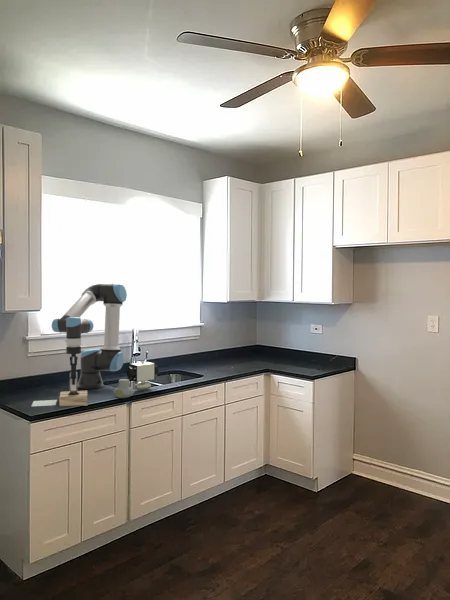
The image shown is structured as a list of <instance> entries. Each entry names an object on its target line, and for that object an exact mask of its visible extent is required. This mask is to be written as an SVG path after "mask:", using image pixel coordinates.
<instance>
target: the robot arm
mask: <svg viewBox="0 0 450 600" xmlns="http://www.w3.org/2000/svg"><path fill="white" fill-rule="evenodd" d="M127 297H128V296H127V289H126V286H125V285H124V284H123V283H121V282H97V283H94V284H92V285H90V286H89V287H88V288H86V289H85V290H84V291H83V292H82V293H81V296H80V297H79V298H78V300H77V301H75V302H74V304H73V305H72V306H71V307H70V308H69V309H68V310H67V311H66V312H65V313H64V314H63V315H62V316H61V318H55V319H53V320H52V322H51V329H52V331H53V332H55V333H59V334H60V333H66V334H65V335H66V336H65V337H66V339H64V341H65V342H66V343H65V345H66V346H65V350H66V351H65V353H66V354H67V355H70V356H69V364H70V372H71V378H70V377H69V380H70V379H71V391H76V372H77V366H78V356H77V355H78V354H80V357H79V359H80V376H79V379H78V380H77V388H78V389H79V388H80V389H87V390H88V389H98V388H99V389H100V388H102V387H104V382H103V379H102V375H101V371H107V372H108V371H109V372H117V371H119V370H121V369H122V367H123V365H124V363H125V355H124V352H122V349H121V347H120V346H119V343H120V342H119V341H120V339H119V338H120V337H119V335H120V319H121V318H120V316H121V315H120V314H121V313H120V311H121V307H122V306H123V305H124V304H123V303H124V302H126V300H127ZM97 302H103V305H104V308H105V315H104V319H105V320H104V335H103V337H104V338H103V339H104V340H103V346H102V347H101V349H100V348H91V349H85V350H82V347H81V346H82V334H88V333H91V332H92V331H93V329H94V323H93V321H92V320H90V319H88V318H86V319H85V318H84V319H82V318H81V316H83V314H84V313H85V312H86V311H87V310H89V308H90V307H91V306H93V305H94V304H96V303H97ZM77 377H78V374H77Z"/></svg>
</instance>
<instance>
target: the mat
mask: <svg viewBox="0 0 450 600" xmlns="http://www.w3.org/2000/svg"><path fill="white" fill-rule="evenodd" d="M57 402H58V399H50V400H49V399H48V400H33V402H32V404H31V406H30V407H47V406H56V405H57Z"/></svg>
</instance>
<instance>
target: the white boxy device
mask: <svg viewBox="0 0 450 600" xmlns="http://www.w3.org/2000/svg"><path fill="white" fill-rule="evenodd" d="M158 375H159V367H158V365H157V364H156V362H152V361H151V362H150V361H144V360H141V362H138V363H137V362H136V363H130V364H129V366H128V368H127V369H126V376H127V379H129V381H131V382H135V384H134V390H135V391H137V392H141V391H148V390H150V389H151V388H152V384H151V382H148V381H151V380H156V377H157V376H158ZM136 382H137V383H136ZM138 390H139V391H138Z"/></svg>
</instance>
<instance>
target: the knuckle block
mask: <svg viewBox="0 0 450 600" xmlns="http://www.w3.org/2000/svg"><path fill="white" fill-rule="evenodd" d="M58 402H59V405H58V406H59V407H68V406H69V407H71V406H84V407H85V406H86V407H87V406H88V390H78V395H70V390H69V391H68V390H67V391H60V392H59V401H58Z"/></svg>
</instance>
